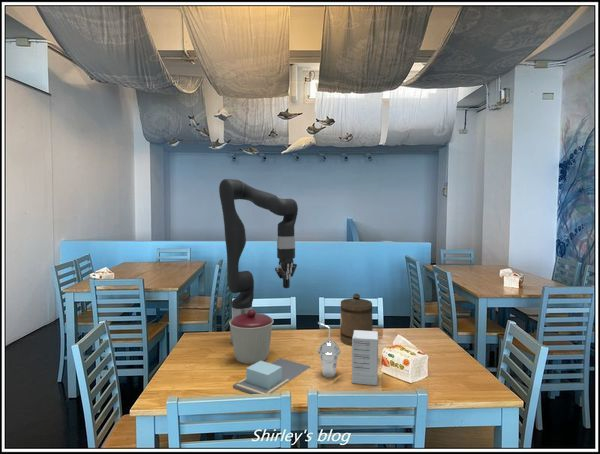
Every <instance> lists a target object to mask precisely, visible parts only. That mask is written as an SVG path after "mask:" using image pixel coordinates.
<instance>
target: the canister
mask: <svg viewBox="0 0 600 454" xmlns="http://www.w3.org/2000/svg"><path fill="white" fill-rule="evenodd" d="M228 324H229V326H231V331H232V338H233V344H232V346H233V352H234V355H235V359H236V361H237V362H239V363H241V364H245V365H253V364H255V363H257V362H259V361H264V362H266V360H267V359H268V357H269V353H270V347H271V337H272V331H273V330H272V328H273V327H272V326H273V324H274V319H273V318H272V317H271V316H269V315H267V314H264V313H258V312H256V310H255V309H252V310H249V311H248V312H247V314H241V315H238V316H236V317H234V318H233V319H232V318H231V319H230V320H229V321H228ZM231 331H230V332H231Z"/></svg>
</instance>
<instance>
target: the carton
mask: <svg viewBox="0 0 600 454" xmlns="http://www.w3.org/2000/svg"><path fill="white" fill-rule="evenodd" d="M271 363H272V362H271ZM271 363H270V362H267V361H259V362H257V363H255V364H250V366H247V367H246V370H245V371H246V372H245V374H246V375H245V378H246V382H249V383H252V384H255V385H257V386H260V387H263V388H266V389H269V388H271V387H272V386H274V385H276V384H277V383H279V382H280V381H282V367H280V366H277V365H274V364H271Z"/></svg>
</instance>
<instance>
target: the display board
mask: <svg viewBox="0 0 600 454" xmlns="http://www.w3.org/2000/svg"><path fill="white" fill-rule="evenodd" d="M271 364H274V365H277V366H280V367H282V381H280V382H279V383H277V384H276V385H274V386H272V387H271V388H269V389H266V388H263V387H260V386H257V385H255V384H252V383H249V382H246V377H245V378H243V379H241V380H239V381H237V382H235V383H234V384H232V388H233V389H235V390H237V391H241V392H243V393H247V394H249V395H252V394H264V393H271V394H273V393H274V392H276V391H277V390H279V389H280V388H282V387H283V386H285V385H286V384H288V383H289V382H291V381H292V380H294V379H295V378H296V377H298V376H299V375H301V374H302V373H304V372H305V371H308V369H310V368H311V367H312V366H310V365H307V364H302V363H299V362H295V361H292V360H288V359H284V358H281V357H280V358H278V359H276V360H275V361H273V362H271Z"/></svg>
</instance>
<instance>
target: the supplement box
mask: <svg viewBox="0 0 600 454" xmlns="http://www.w3.org/2000/svg"><path fill="white" fill-rule="evenodd" d="M378 337H379V332H378V331H376V330H372V331H361V330H354V334H353V337H352V345H351V383H352V384H358V385H371V386H378V379H379V377H378V376H379V375H378V373H379V372H378V370H379V338H378Z"/></svg>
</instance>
